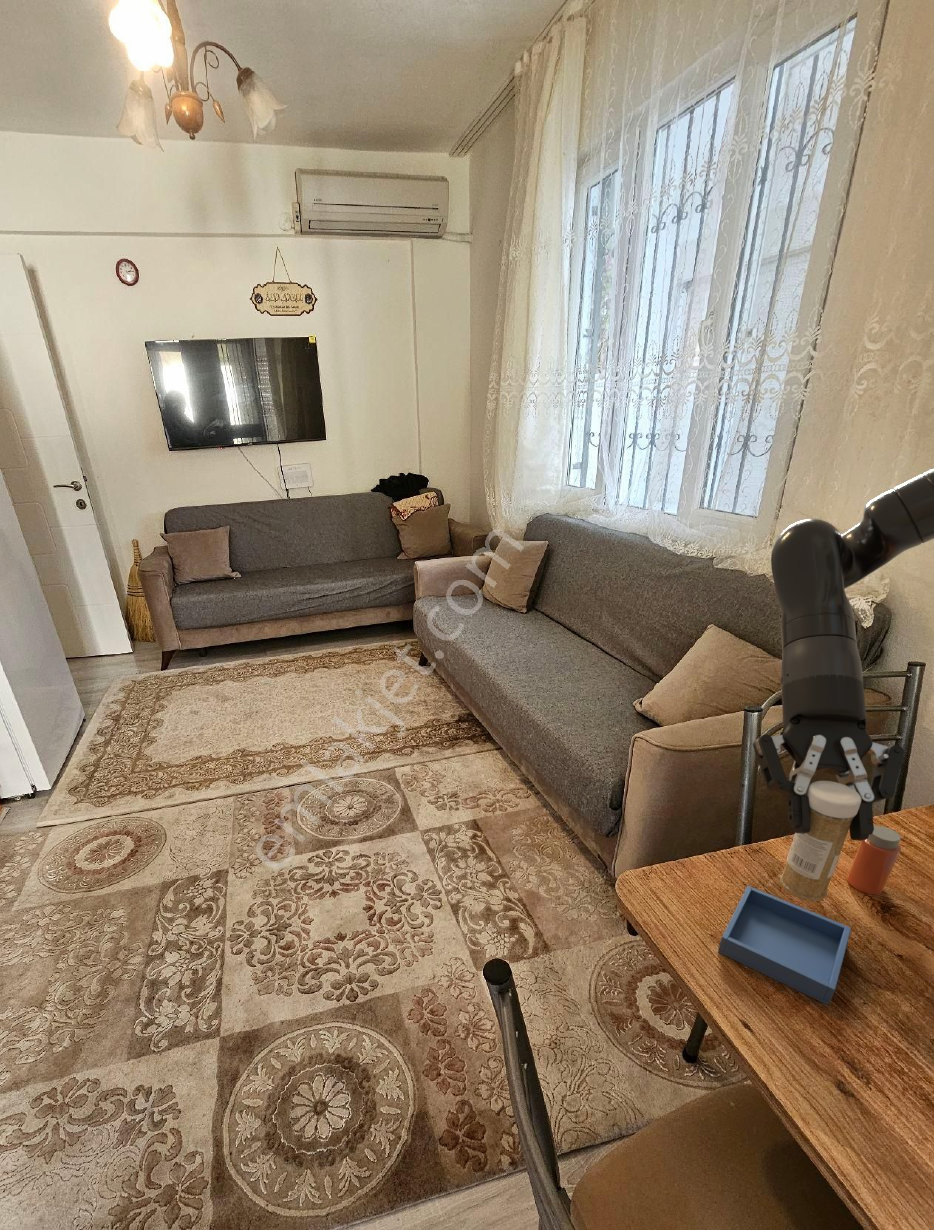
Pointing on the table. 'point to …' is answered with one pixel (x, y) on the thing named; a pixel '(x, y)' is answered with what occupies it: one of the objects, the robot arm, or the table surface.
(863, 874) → the terracotta shaker
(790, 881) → the sprinkles bottle
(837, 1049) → the table surface
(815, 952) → the blue tray
